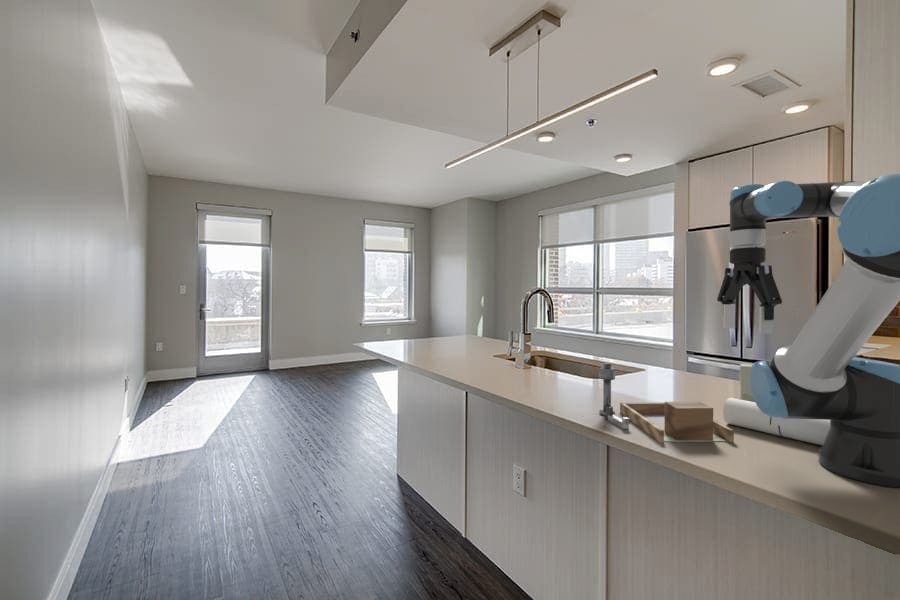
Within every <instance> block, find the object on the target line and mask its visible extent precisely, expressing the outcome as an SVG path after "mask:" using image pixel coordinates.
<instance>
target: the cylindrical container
mask: <svg viewBox="0 0 900 600" xmlns="http://www.w3.org/2000/svg"><path fill="white" fill-rule="evenodd" d="M722 414H723V419H724V422H725V423H726V424H728V425H732V426H735V427H741V428H745V429H750V430H753V431H758V432H761V433H767V434H771V435H774V436H778V437H783V438H787V439H792V440H797V441H800V442H804V443H805V442H806V443H809V444H814V445H818V446H821V447H823V444H824V442H825V439H826V436H827V434H828V431H829V429H830V420H825V419H791V418H787V419H783V418H780V417H770V416H768V415H766V414H764V413H763V412H762V411H761V410H760V409H759V408H758V406H757V405H756V403H755V402H750V401H745V400H740V399H739V398H733V397H728V398H727V399H726V400H725V403H724V405H723V411H722Z"/></svg>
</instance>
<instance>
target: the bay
mask: <svg viewBox="0 0 900 600" xmlns="http://www.w3.org/2000/svg"><path fill="white" fill-rule="evenodd" d="M619 405H620V406H619V412H620V414H621V415H623V417H628V418H630V422H632V423H633V424H635V425H636V426H637V427H639V428H640V429H641V430H642V431H644V432H645V433H646V434H648V435H649V436H650V437H652V438H654V439H655V440H656V441H657V442H658V443H660V444H661V443H666V442H667V443H668V442H669V443H675V442H677V443H679V442H680V443H683V442H684V443H685V442H686V443H687V442H688V443H691V442H692V443H694V442H695V443H698V442H703V443H704V442H706V443H707V442H710V443H714V442H716V443H717V442H718V443H719V442H721V443H722V442H724V443H725V442H727V443H735V441H734V439H735V430H734V429H732V428H730V427H728V426H727V425H725V424H723V423H721V422H718V421H717V420H715V419H713V440H675V439H674V438H672V437H671V436H669V435H668V434H667V433H665V432H664V429H663V428H661V427H660V426H658V425H657V424H655V423H653V422H652V421H651V420H649V419H648V418H647V417H645V416H643V415H642V414H646V415H648V414H651V415H652V414H658V415H659V414H665V402H619Z"/></svg>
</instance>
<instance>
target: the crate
mask: <svg viewBox="0 0 900 600" xmlns="http://www.w3.org/2000/svg"><path fill="white" fill-rule="evenodd" d="M664 403H665V413H664V429H663V430H664V432H665V433H667V434H668V435H669V436H671V437H672V438H674V439H675V440H713V434H714V433H713V420H714V407H712V406H710V405H708V404H706V403H703V402H701V401H664Z"/></svg>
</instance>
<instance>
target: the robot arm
mask: <svg viewBox="0 0 900 600" xmlns="http://www.w3.org/2000/svg"><path fill="white" fill-rule="evenodd" d="M729 197H730V198H729V204H728V205H729V244H728V245H729V247H730V248H731V249H730V250H729V259H728V260H729V263H730V264H732V265H733V267H725V269H724V277H723V280H722V284H721V285H720V290H719V293H718V295H717V297H716V298H717V299H716V301H717V302H720V303H721V304H722V316H723V320H722V321H723V322H722V325H723V326H722V327H723V329H736V302H735V300H736V299H737V296H738V295H739V293H740V292H741V290H742V288H743V287H744V286H746V285H748V286H749V287H751V289H752V290H753V292H754V293H755V295H756V296H757V298H758V300H759V302H760V304H759V309H758V311H759V312H758V334H759V335H773V334H774V333H773V331H774V327H773V325H774V324H773V323H774V319H775V307H776V306H777V305H781V304H782V303H783V300H782V297H781V294H780V292H779V288H778V286H777V283H776V281H775V278H774V275H773V267H772V265H763V264H762V263H765V262H766V257H767V256H766V250H767V249H766V248H765V247H763V246H765V245H766V229H767V227H766V226H767V221H768V220H770V219H786V218H787V219H788V218H790V219H791V218H809V217H811V218H812V217H813V218H815V217H818V218H819V217H822V218H823V217H825V218H826V217H830V218H831V217H832V218H838V222H840V224H839V225H838V226H837V229H836V231H837V239H838V241H839V243H840V244H841V251H842V254H843V255H844V257H845V258H846V260H845V261H844V263H843V264H842V266H841V268H840V270H838V273H837V274H836V276H835V277H834V279H833V280H832V282H831V283H830V285H829V287H828V289H826V292H825V293H824V294H823V296H822V297H821V299H820V301H819V303H818V304H817V305H816V307H815V309H814V310H813V312H812V313H811V315H810V316H809V318H808V320H807V321H806V323H805V325H804V326H803V327H802V328H801V330H800V332H799V334H798V335H797V336H796V338H795V340H794V341H793V342H792V344H789V345H786V346H783V347H780V348H779V349H778V350H777V351H776V352H775V353H774V355H773V358H772V359H771V360H769V361H767V360H760V361H756V362H754V363H753V364H751V365H752V367H751V370H750V387H751V392H752V395H753V398H754V401H755V403H756V405H757V406H758V408H759V409H760V410H761V411H762V412H763V413H764V414H766V415H768V416H770V417H780V418H783V419H787V418H791V419H825V420H830V429H829V431H828V434H827V436H826V439H825V442H824V444H823V446H821V447H820V449H819V450H818V462H819V464H820V465H821V466H822V467H824V468H825V469H827V470H829V471H831V472H833V473H836V474H838V475H840V476H843V477H846V478H848V479H853V480H857V481H859V482H860V481H861V482H863V483H868V484H873V485H878V486H884V487H885V486H886V487H892V488H900V364H897V363H892V362H886V361H882V360H881V361H880V360H875V359H871V358H863V357H857V356H856V355H857V354H858V352H859V351H860V350H861V349H862V347H864V345H865V344H866V342H867V341H868V340H869V339H870V338H871V337H872V336H873V334H874V333H875V332H876V331H877V329H878V328H879V327H880V326H881V324H882V323H883V322H884V321H885V319H886V318H887V317H888V316H889V315H890V313H891V312H892V311H893V310H894V309H895V307H896V306H897V305H898V303H899V302H900V173H894V174H886V175H881V176H879V177H876V178H873V179H871V180H869V181H855V180H845V181H844V180H843V181H832V182H817V183H816V182H815V183H813V182H811V183H795V182H792V181H790V180H781V181H775V182H770V183H769V184H766V185H765V184H760V183H755V184H753V183H751V184H744V185H741V186H740V185H739V186H736V187H734V188H733V189H732V190H731V191H730V196H729Z"/></svg>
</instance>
